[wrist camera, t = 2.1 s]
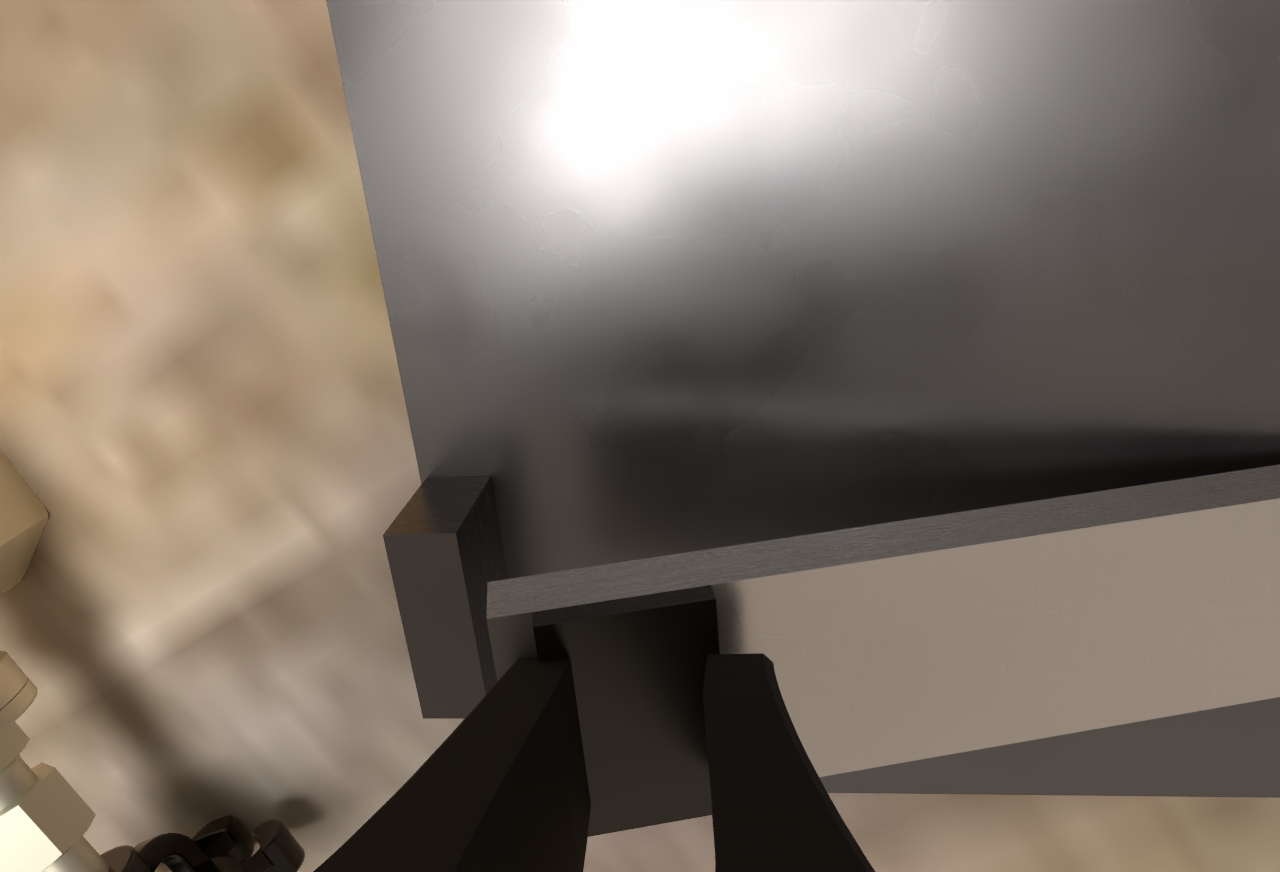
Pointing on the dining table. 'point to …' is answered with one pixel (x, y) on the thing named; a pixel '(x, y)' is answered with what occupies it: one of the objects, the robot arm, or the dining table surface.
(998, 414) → the grey flat block
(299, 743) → the dining table surface
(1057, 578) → the steel strap
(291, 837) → the valve
